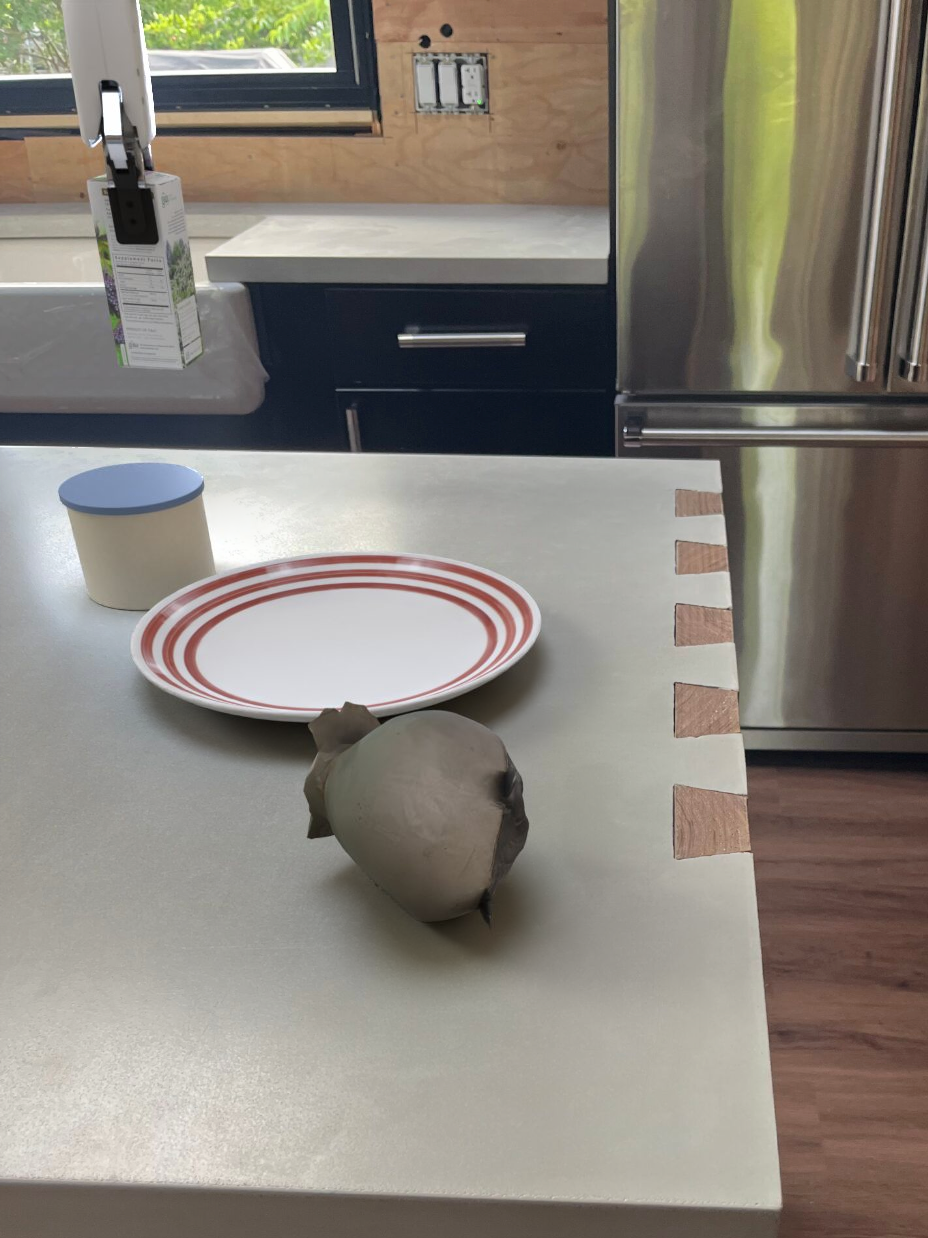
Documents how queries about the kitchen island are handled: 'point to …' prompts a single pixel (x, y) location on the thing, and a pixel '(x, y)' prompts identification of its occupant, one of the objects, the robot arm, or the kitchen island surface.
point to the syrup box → (150, 281)
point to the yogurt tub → (139, 531)
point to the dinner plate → (335, 634)
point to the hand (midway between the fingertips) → (142, 233)
